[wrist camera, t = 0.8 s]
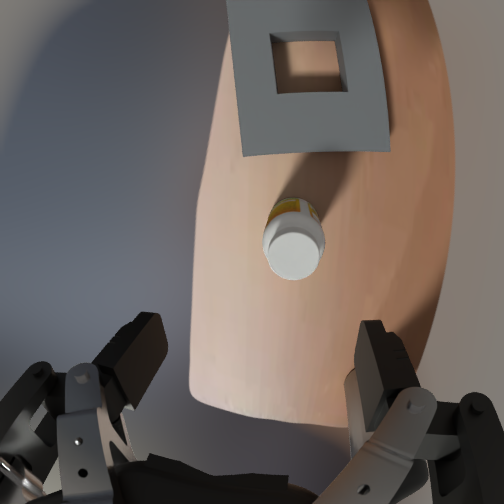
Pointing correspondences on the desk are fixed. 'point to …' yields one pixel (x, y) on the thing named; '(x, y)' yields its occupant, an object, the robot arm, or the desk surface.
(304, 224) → the supplement bottle
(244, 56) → the socket holder
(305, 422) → the desk surface
